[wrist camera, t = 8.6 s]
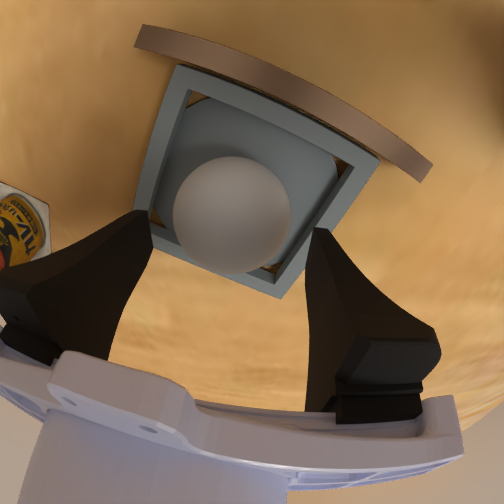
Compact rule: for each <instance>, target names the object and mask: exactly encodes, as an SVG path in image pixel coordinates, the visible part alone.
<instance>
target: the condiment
mask: <svg viewBox="0 0 504 504" xmlns="http://www.w3.org/2000/svg"><path fill="white" fill-rule="evenodd" d="M49 254H51V243H50V228H49V208H48V205H47V204H46V203H43V202H41V201H39V200H38V199H35V198H33V197H32V196H30V195H28V194H26V193H24V192H22V191H19V190H17V189H15V188H13V187H11V186H8V185H4V184H3V183H1V182H0V271H1V270H2V269H3V268H5V267H10V266H14V265H18V264H22V263H26V262H29V261H32V260H36V259H38V258H41V257H44V256H47V255H49Z"/></svg>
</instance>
